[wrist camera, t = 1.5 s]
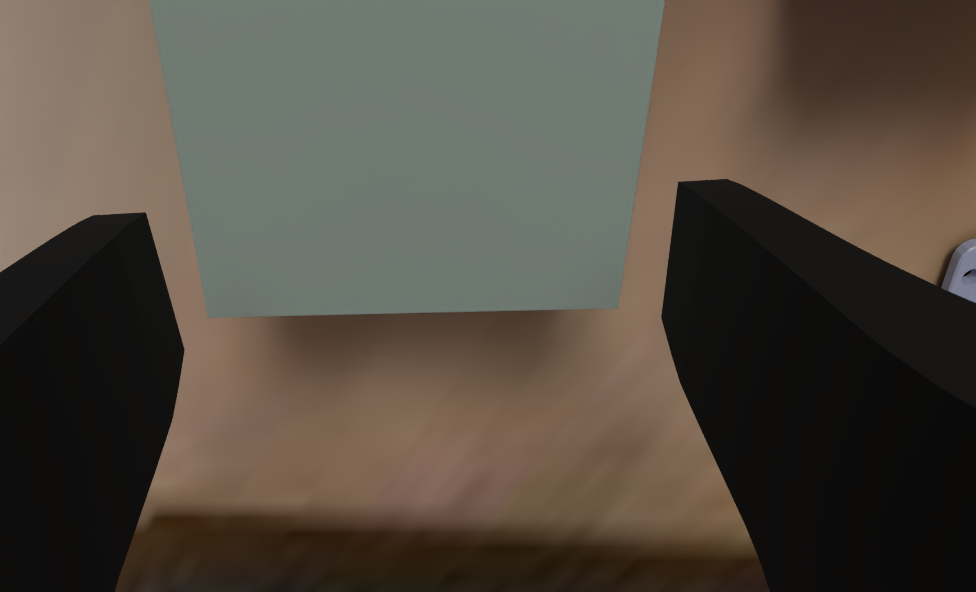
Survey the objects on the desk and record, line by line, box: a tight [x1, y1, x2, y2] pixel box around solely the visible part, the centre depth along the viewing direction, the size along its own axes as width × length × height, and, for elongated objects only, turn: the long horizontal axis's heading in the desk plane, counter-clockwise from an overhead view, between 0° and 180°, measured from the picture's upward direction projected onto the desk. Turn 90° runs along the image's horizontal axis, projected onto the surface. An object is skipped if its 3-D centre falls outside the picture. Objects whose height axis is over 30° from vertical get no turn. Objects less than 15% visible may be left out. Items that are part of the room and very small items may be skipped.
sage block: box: [149, 0, 665, 318], centre depth 16 cm, size 8×8×5 cm
